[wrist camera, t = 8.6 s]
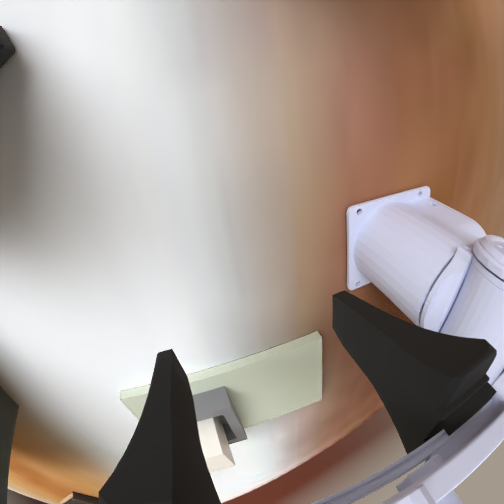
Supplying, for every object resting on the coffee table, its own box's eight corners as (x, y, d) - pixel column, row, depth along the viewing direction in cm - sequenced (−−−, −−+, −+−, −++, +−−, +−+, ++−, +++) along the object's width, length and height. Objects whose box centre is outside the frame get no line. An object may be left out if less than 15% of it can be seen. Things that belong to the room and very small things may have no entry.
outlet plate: (317, 330, 27) (334, 355, 25) (318, 393, 34) (330, 414, 31) (119, 391, 24) (120, 420, 21) (166, 441, 30) (170, 464, 27)
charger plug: (208, 402, 26) (222, 453, 21) (221, 419, 28) (235, 465, 23) (172, 413, 26) (181, 464, 21) (187, 428, 28) (198, 475, 23)
